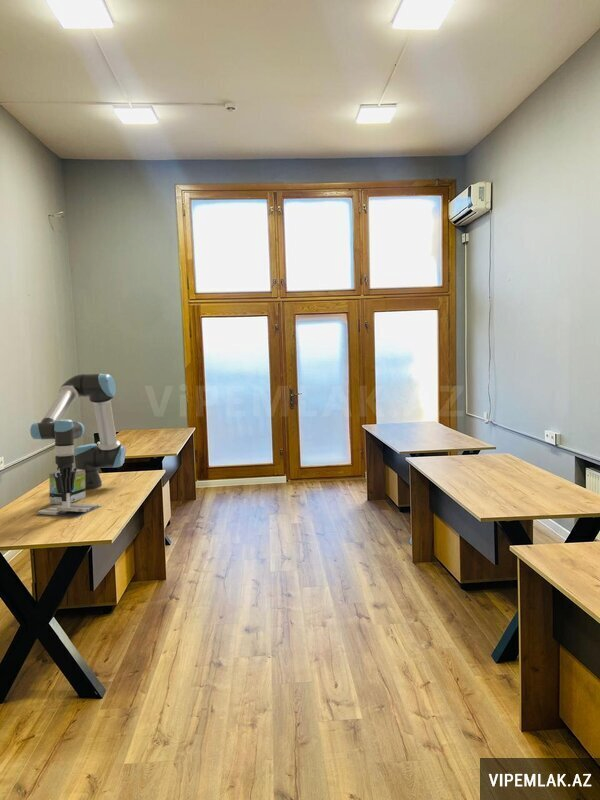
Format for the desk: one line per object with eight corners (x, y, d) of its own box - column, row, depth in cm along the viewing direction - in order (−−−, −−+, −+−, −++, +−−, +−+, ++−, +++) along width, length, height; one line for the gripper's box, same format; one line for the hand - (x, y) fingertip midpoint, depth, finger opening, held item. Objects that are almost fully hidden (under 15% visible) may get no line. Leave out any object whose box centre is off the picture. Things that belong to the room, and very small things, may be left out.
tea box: (67, 505, 253) (66, 474, 253) (49, 504, 255) (48, 473, 255) (86, 497, 268) (85, 468, 267) (68, 497, 270) (67, 468, 269)
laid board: (61, 505, 253) (60, 502, 253) (98, 507, 249) (98, 504, 249) (49, 509, 246) (49, 507, 246) (88, 511, 241) (87, 509, 241)
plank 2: (68, 511, 243) (68, 508, 243) (86, 512, 241) (86, 509, 241) (56, 510, 235) (57, 507, 235) (75, 511, 233) (76, 508, 233)
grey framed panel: (62, 504, 256) (62, 503, 256) (102, 506, 251) (102, 506, 251) (34, 515, 237) (34, 515, 237) (77, 518, 232) (77, 517, 232)
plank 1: (49, 510, 245) (49, 507, 245) (67, 511, 243) (67, 508, 243) (37, 513, 237) (37, 511, 237) (55, 514, 235) (55, 512, 235)
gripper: (66, 452, 240) (68, 504, 241) (46, 456, 227) (48, 511, 228) (81, 452, 239) (82, 504, 240) (62, 457, 226) (63, 512, 227)
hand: (66, 507), depth 234 cm, fingers closed
